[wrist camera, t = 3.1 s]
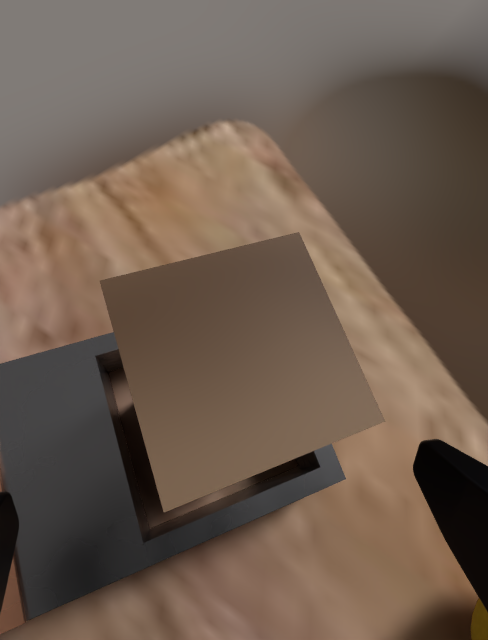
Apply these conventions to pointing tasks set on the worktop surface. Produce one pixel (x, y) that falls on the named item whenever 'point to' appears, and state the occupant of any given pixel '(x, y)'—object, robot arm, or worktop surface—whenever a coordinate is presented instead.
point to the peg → (235, 365)
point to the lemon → (479, 622)
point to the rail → (99, 483)
